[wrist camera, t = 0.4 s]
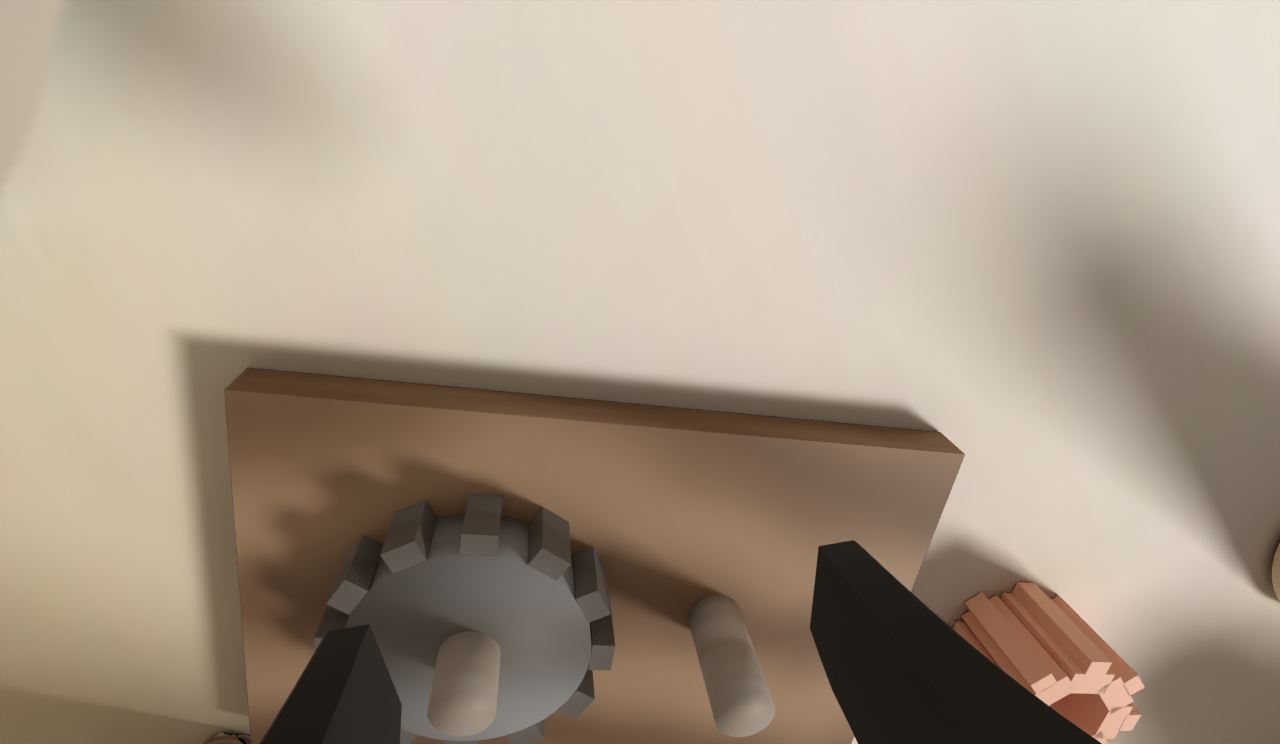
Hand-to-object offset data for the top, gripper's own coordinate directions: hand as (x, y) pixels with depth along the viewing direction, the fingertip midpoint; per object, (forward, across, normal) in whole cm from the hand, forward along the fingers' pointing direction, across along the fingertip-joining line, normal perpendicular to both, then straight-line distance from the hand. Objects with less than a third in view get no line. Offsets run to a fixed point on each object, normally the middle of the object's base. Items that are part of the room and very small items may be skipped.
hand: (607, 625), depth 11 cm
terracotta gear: (+8, -16, +15) cm, 24 cm away
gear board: (+10, 0, +9) cm, 13 cm away
